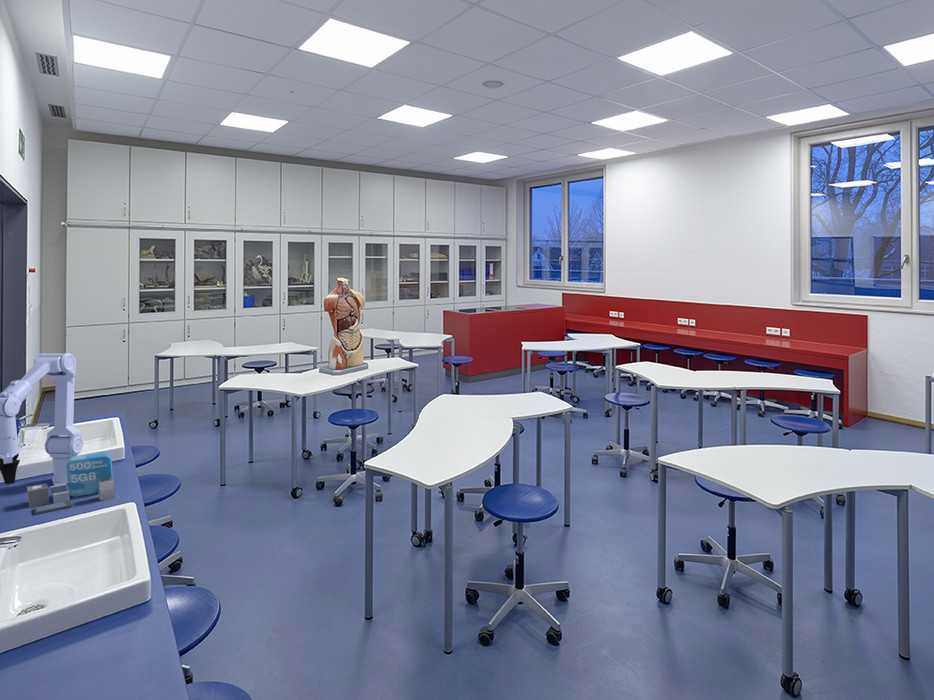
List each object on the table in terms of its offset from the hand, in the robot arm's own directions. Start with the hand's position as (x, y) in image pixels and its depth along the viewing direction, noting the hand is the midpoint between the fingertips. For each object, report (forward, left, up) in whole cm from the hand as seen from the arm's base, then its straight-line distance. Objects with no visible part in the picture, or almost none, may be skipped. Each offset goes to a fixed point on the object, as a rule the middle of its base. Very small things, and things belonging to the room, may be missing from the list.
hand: (9, 480), depth 178 cm
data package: (0, +20, -9) cm, 22 cm away
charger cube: (0, +6, -8) cm, 11 cm away
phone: (+8, +10, -9) cm, 16 cm away
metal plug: (+8, +24, -8) cm, 26 cm away
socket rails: (0, +12, -8) cm, 15 cm away
